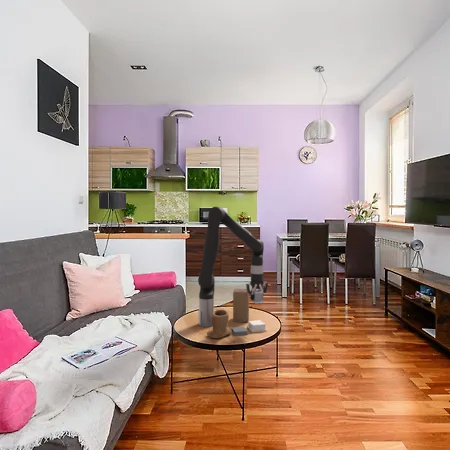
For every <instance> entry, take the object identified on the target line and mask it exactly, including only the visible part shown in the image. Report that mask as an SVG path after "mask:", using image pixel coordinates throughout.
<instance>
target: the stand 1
mask: <svg viewBox="0 0 450 450" xmlns="http://www.w3.org/2000/svg"><path fill="white" fill-rule="evenodd" d="M230 330H231V331H232V334H233V335H234V336H244V335H245V336H246V335H249V330H248V328H246V327H245V326H235V327H230Z"/></svg>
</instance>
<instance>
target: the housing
mask: <svg viewBox="0 0 450 450" xmlns="http://www.w3.org/2000/svg"><path fill="white" fill-rule="evenodd" d="M253 295H254V300H253V301H252V300H251V299H250V301H251V302H253V303H254V304H263V303H264V294H263V291H262V290H259V289H255V291H254V294H253Z"/></svg>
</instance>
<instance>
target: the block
mask: <svg viewBox="0 0 450 450" xmlns="http://www.w3.org/2000/svg"><path fill="white" fill-rule="evenodd" d="M232 294H233V295H232V321H233V322H234V323H249V321H250V294H249V293H248V292H247V288H234V289H233V292H232Z"/></svg>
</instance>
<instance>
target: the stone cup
mask: <svg viewBox="0 0 450 450" xmlns="http://www.w3.org/2000/svg"><path fill="white" fill-rule="evenodd" d="M229 318H230V316H229V312H228V310H226V309H216V310H214V312H213V313H212V315H211V323H212V326H211V327H212V330H209V331H207V332H206V336H208V337H210V338H211V339H218V338H219V339H220V338H223V337H225V336H228V335H231V334H233V332H232V331H231V328H230V327H229V326H228V323H229V321H230V320H229Z"/></svg>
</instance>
